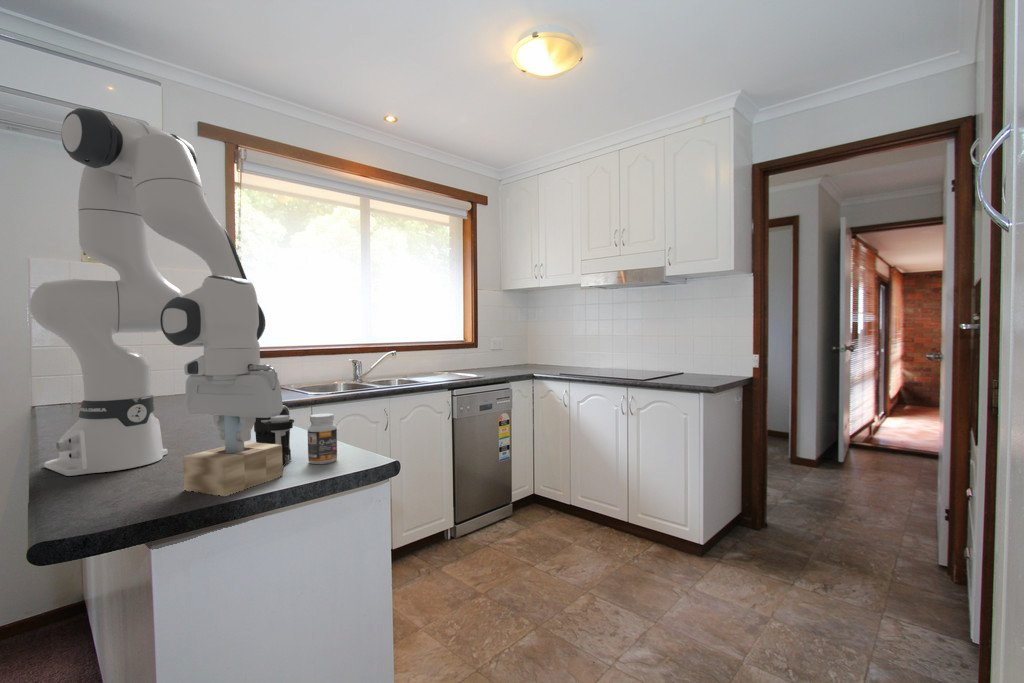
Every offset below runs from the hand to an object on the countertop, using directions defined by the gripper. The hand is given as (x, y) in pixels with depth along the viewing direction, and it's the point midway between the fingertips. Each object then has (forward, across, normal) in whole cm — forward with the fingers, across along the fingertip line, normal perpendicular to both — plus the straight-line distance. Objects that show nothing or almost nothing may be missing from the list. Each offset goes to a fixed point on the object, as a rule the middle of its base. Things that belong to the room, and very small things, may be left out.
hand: (234, 440), depth 87 cm
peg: (+5, 0, 0) cm, 5 cm away
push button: (+8, +2, -12) cm, 15 cm away
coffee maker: (+8, +9, -16) cm, 20 cm away
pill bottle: (+8, -4, -17) cm, 19 cm away
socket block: (+8, 0, 0) cm, 8 cm away
